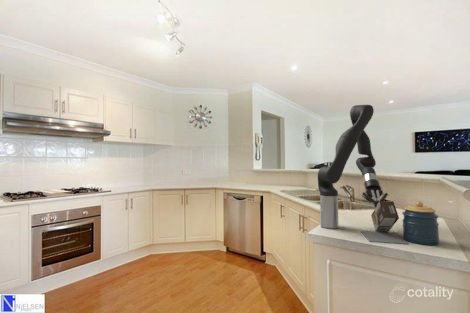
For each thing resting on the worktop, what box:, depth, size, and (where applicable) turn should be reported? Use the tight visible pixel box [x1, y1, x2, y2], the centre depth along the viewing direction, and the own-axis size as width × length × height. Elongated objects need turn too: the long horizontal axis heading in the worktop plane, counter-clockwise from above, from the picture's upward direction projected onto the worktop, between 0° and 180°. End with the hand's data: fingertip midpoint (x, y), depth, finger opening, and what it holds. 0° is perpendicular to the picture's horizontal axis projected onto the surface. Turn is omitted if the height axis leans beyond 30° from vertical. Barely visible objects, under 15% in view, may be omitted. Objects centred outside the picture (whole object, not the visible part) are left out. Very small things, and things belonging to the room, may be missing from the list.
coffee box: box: [371, 200, 400, 232], centre depth 118 cm, size 9×6×16 cm
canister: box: [401, 201, 440, 246], centre depth 108 cm, size 13×13×18 cm
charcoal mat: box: [360, 229, 409, 245], centre depth 113 cm, size 15×17×1 cm
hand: (378, 208), depth 125 cm, fingers closed
